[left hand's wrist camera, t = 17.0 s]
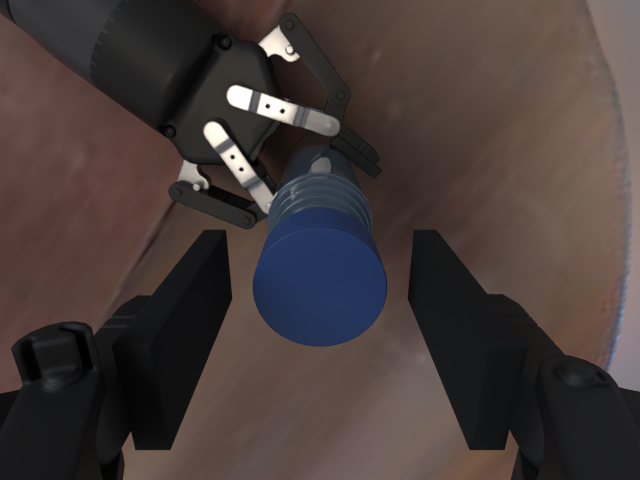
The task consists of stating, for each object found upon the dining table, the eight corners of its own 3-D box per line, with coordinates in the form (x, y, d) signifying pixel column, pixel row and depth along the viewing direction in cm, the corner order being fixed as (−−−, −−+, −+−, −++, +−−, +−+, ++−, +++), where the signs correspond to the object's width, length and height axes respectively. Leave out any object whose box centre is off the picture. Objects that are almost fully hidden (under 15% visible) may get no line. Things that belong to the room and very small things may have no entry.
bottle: (342, 126, 31) (380, 195, 12) (354, 184, 33) (405, 330, 14) (283, 140, 32) (225, 231, 12) (298, 197, 34) (268, 357, 14)
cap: (239, 273, 14) (227, 303, 13) (306, 182, 13) (304, 200, 11) (331, 331, 15) (333, 367, 13) (401, 251, 14) (415, 278, 12)
